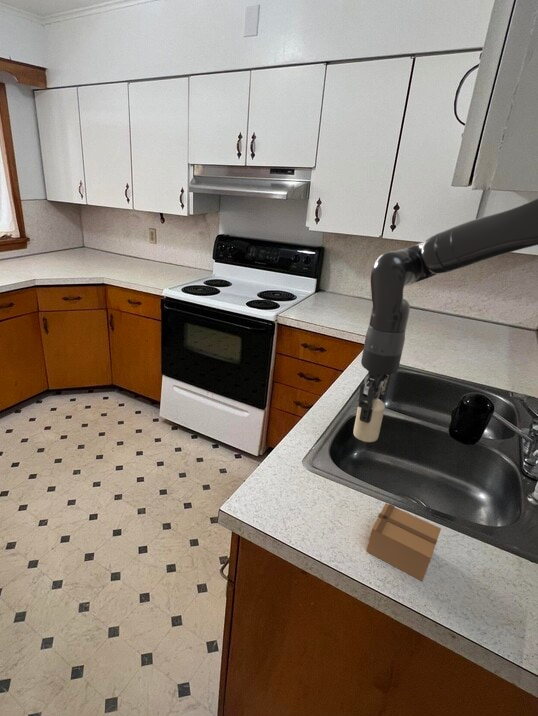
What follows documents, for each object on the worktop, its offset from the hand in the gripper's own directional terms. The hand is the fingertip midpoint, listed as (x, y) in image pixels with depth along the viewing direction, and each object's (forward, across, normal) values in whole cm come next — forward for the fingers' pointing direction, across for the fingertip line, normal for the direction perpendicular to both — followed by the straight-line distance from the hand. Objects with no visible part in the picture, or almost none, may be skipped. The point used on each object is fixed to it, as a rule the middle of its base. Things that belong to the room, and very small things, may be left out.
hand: (369, 414), depth 95 cm
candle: (+6, 0, 0) cm, 6 cm away
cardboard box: (+15, -19, -15) cm, 28 cm away
